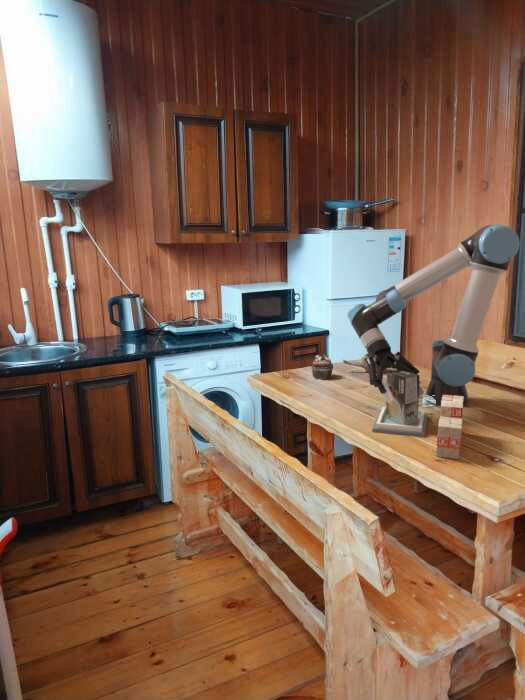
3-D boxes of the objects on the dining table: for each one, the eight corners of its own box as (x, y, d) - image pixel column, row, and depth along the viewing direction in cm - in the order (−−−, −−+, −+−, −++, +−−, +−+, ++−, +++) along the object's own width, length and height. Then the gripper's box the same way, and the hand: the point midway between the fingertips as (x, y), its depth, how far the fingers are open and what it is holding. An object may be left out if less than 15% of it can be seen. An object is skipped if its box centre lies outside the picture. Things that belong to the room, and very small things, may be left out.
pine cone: (386, 368, 244) (387, 347, 242) (393, 373, 235) (393, 352, 233) (339, 370, 243) (340, 349, 241) (344, 375, 234) (344, 354, 231)
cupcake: (308, 375, 235) (308, 353, 233) (328, 373, 238) (328, 352, 236) (315, 381, 226) (315, 358, 224) (336, 379, 229) (336, 356, 227)
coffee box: (419, 422, 171) (421, 374, 168) (404, 426, 168) (406, 377, 165) (399, 414, 179) (400, 368, 175) (384, 418, 176) (386, 371, 172)
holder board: (427, 416, 180) (427, 409, 179) (424, 436, 162) (425, 429, 162) (379, 412, 185) (379, 405, 184) (372, 431, 167) (372, 424, 167)
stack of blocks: (459, 460, 146) (462, 418, 143) (435, 457, 148) (438, 415, 145) (461, 433, 165) (464, 395, 162) (440, 430, 167) (442, 393, 165)
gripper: (396, 346, 188) (427, 396, 179) (342, 355, 176) (372, 410, 166) (408, 333, 182) (440, 385, 173) (352, 342, 170) (384, 398, 161)
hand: (407, 397), depth 170 cm, fingers open, 13 cm apart
